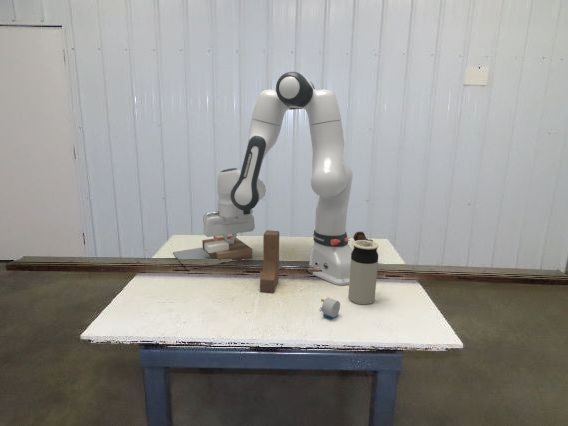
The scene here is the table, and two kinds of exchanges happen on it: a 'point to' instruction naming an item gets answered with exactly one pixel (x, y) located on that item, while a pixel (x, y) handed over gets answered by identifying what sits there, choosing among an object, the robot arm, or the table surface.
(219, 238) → the clay tile
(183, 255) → the mat
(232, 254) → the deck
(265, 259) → the wooden block
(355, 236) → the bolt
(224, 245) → the cream tile
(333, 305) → the electric motor
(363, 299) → the travel mug
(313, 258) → the robot arm
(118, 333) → the table surface
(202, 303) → the table surface
